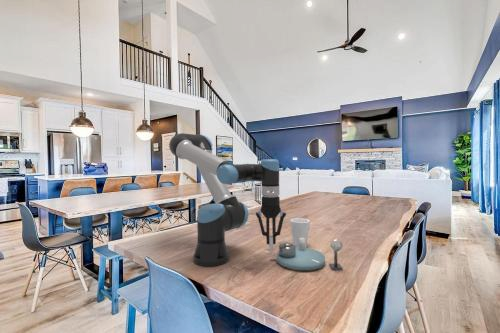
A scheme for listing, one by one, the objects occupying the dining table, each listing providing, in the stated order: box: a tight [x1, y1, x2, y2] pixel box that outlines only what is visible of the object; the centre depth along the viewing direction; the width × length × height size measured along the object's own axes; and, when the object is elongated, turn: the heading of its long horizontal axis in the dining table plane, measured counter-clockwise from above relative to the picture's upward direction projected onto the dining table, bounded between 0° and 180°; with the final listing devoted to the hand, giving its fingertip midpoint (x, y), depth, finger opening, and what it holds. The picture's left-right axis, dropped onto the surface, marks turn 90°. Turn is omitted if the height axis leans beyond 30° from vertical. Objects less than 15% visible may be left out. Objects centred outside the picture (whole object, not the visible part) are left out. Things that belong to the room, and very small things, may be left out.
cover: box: [278, 241, 296, 259], centre depth 109 cm, size 7×7×5 cm
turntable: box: [276, 238, 326, 271], centre depth 109 cm, size 20×20×7 cm
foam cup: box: [289, 217, 311, 248], centre depth 128 cm, size 10×9×13 cm
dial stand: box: [328, 238, 343, 271], centre depth 103 cm, size 4×4×12 cm
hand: (271, 251), depth 109 cm, fingers closed
